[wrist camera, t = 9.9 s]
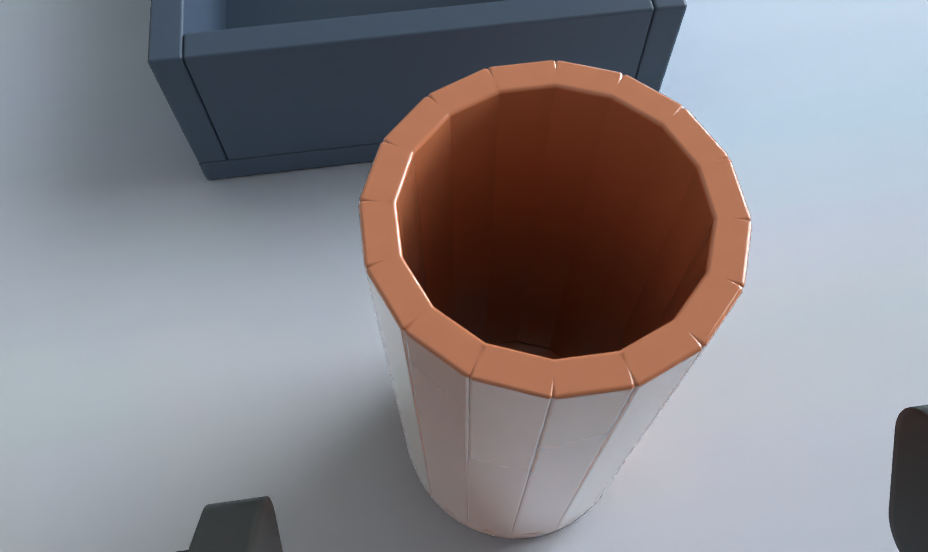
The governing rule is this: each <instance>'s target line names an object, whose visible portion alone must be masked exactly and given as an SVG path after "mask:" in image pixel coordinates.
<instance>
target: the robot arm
mask: <svg viewBox="0 0 928 552" xmlns="http://www.w3.org/2000/svg"><path fill="white" fill-rule="evenodd" d="M889 523H890V528H891V532H892V535H893V538H894V541H895V543H896V545H897V548H898V550H899V551H900V552H928V405H923V406H916V407H909V408H906V409H904V410H902V412H901V413H900V414H899V416H898V418H897V421H896V425H895V435H894V448H893V461H892V474H891V487H890V501H889ZM178 552H283V550H282V545H281V540H280V535H279V530H278V525H277V520H276V515H275V511H274V507H273V504H272V501H271V500H270V498H269V497H268V496H265V497H258V498H251V499H243V500H236V501H229V502H222V503H215V504H208V505H206V506H205V507H204V509H203V511H202V514H201V517H200V519H199V522H198V525H197V528H196V531H195V533H194V536H193V539H192V542H191V544H190V547H189V550H185V551H178Z"/></svg>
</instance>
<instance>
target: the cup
mask: <svg viewBox="0 0 928 552" xmlns="http://www.w3.org/2000/svg"><path fill="white" fill-rule="evenodd" d="M359 199H360V203H359V206H358V207H359V218H360V229H361V239H362V250H363V261H364V268H365V272H366V276H367V280H368V284H369V289H370V293H371V297H372V301H373V305H374V310H375V314H376V318H377V322H378V326H379V331H380V335H381V339H382V343H383V347H384V352H385V356H386V360H387V364H388V368H389V372H390V377H391V381H392V385H393V389H394V393H395V398H396V402H397V406H398V410H399V414H400V419H401V423H402V427H403V431H404V435H405V440H406V444H407V448H408V452H409V456H410V459H411V462H412V463H413V465H414V468H415V471H416V473H417V475H418V477H419V479H420V481H421V483H422V485H423V486H424V488H425V489H426V491H427V492H428V494H429V495H430V497H431V498H432V499H433V500H434V501H435V502H436V504H437V505H438V506H439V507H440V508H441V509H443V510H444V511H445V512H446V513H447V514H448V515H449V516H451V517H452V518H454V519H455V520H457V521H458V522H460V523H461V524H463V525H465V526H467V527H469V528H471V529H473V530H475V531H478V532H481V533H484V534H487V535H491V536H496V537H501V538H515V539H518V538H531V537H536V536H541V535H545V534H548V533H551V532H554V531H556V530H559V529H561V528H563V527H565V526H567V525H569V524H570V523H572V522H574V521H575V520H576V519H578V518H579V517H580V516H582V515H583V514H584V513H585V512H586V511H587V510H588V509H590V508H591V507H592V506H593V505H594V504H595V503H596V502H597V501H598V499H599V498H600V496H601V495H602V493H603V492H604V491H605V489H606V488H607V486H608V485H609V484H610V482H611V481H612V479H613V478H614V476H615V475H616V474H617V472H618V471H619V469H620V468H621V467H622V465H623V464H624V462H625V461H626V459H627V458H628V457H629V455H630V454H631V452H632V451H633V450H634V448H635V447H636V445H637V444H638V442H639V441H640V440H641V438H642V437H643V435H644V434H645V433H646V431H647V430H648V428H649V427H650V426H651V424H652V423H653V421H654V420H655V418H656V417H657V416H658V414H659V413H660V411H661V410H662V409H663V407H664V406H665V404H666V403H667V401H668V400H669V399H670V397H671V396H672V394H673V393H674V392H675V390H676V389H677V387H678V386H679V384H680V383H681V382H682V380H683V379H684V377H685V376H686V375H687V373H688V372H689V370H690V369H691V367H692V366H693V365H694V363H695V362H696V360H697V359H698V358H699V356H700V355H701V353H702V352H703V351H704V349H705V348H706V346H707V345H708V343H709V342H710V340H711V339H712V337H713V336H714V334H715V333H716V331H717V330H718V328H719V327H720V325H721V324H722V322H723V321H724V319H725V318H726V316H727V315H728V313H729V312H730V310H731V309H732V307H733V306H734V304H735V303H736V301H737V300H738V298H739V297H740V295H741V294H742V290H743V287H744V286H745V282H746V273H747V264H748V256H749V247H750V238H751V230H752V224H751V216H750V213H749V210H748V207H747V204H746V202H745V199H744V196H743V193H742V190H741V187H740V184H739V182H738V179H737V176H736V173H735V170H734V167H733V164H732V161H731V160H730V159H728V155H727V153H726V152H725V151H724V150H723V149H722V148H721V147H720V145H719V144H718V143H717V142H716V141H715V140H714V139H713V138H712V136H711V135H710V134H709V133H708V132H707V131H706V130H705V129H704V128H703V126H702V125H701V124H700V123H699V122H698V121H697V120H696V119H695V117H694V116H693V115H692V114H691V113H690V112H689V111H688V110H687V109H686V108H683V106H682V105H681V104H679V103H677V102H676V101H674V100H672V99H670V98H668V97H667V96H665V95H663V94H661V93H659V92H657V91H656V90H654V89H652V88H650V87H648V86H646V85H645V84H643V83H641V82H639V81H637V80H636V79H634V78H632V77H630V76H628V75H622V73H620V72H616V71H611V70H606V69H601V68H596V67H591V66H585V65H580V64H575V63H570V62H565V61H560V60H559V61H556V63H555V61H554V60H548V61H538V62H529V63H520V64H511V65H501V66H492V67H489V69H487V68H485V69H482V70H480V71H478V72H475V73H473V74H471V75H469V76H467V77H464V78H462V79H460V80H458V81H456V82H454V83H451V84H449V85H447V86H445V87H443V88H440V89H438V90H436V91H434V92H432V93H430V94H429V95H428V97H427V96H426V97H424V98H423V99H422V100H421V101H420V102H419V103H418V104H417V105H416V106H415V107H414V108H413V109H412V110H411V111H410V112H409V113H408V114H407V115H406V116H405V117H404V118H403V119H402V121H401V122H400V123H399V124H398V125H397V126H396V127H395V128H394V129H393V130H392V131H391V132H390V133H389V134H388V135H387V136H386V137H385V138H384V140H383V142H382V143H381V144H380V145H379V148H378V151H377V153H376V156H375V159H374V161H373V164H372V166H371V169H370V172H369V174H368V177H367V180H366V182H365V185H364V188H363V190H362V193H361V196H360V198H359Z"/></svg>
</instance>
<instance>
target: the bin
mask: <svg viewBox="0 0 928 552" xmlns="http://www.w3.org/2000/svg"><path fill="white" fill-rule="evenodd" d="M686 7H687V5H686V2H685V0H151V9H150V28H149V48H148V63H149V65H150V67H151V69H152V71H153V73H154V75H155V77H156V79H157V81H158V83H159V85H160V87H161V89H162V91H163V93H164V95H165V97H166V99H167V101H168V103H169V105H170V107H171V109H172V111H173V113H174V115H175V117H176V119H177V121H178V123H179V125H180V127H181V129H182V131H183V133H184V135H185V137H186V139H187V141H188V143H189V144H190V146H191V148H192V150H193V152H194V154H195V156H196V158H197V160H198V162H199V165H200V167H201V169H202V171H203V173H204V175H205V177H206V179H208V180H211V179H220V178H228V177H237V176H246V175H255V174H263V173H272V172H281V171H290V170H299V169H307V168H316V167H325V166H334V165H342V164H351V163H360V162H369V161H374V159H375V156H376V153H377V151H378V148H379V145H380V144H381V143H382V142H383V140H384V138H385V137H386V136H387V135H388V134H389V133H390V132H391V131H392V130H393V129H394V128H395V127H396V126H397V125H398V124H399V123H400V122H401V121H402V119H403V118H404V117H405V116H406V115H407V114H408V113H409V112H410V111H411V110H412V109H413V108H414V107H415V106H416V105H417V104H418V103H419V102H420V101H421V100H422V99H423V98H424V97H426V96H427V97H428V95H429V94H430V93H432V92H434V91H436V90H438V89H440V88H443V87H445V86H447V85H449V84H451V83H454V82H456V81H458V80H460V79H462V78H464V77H467V76H469V75H471V74H473V73H475V72H478V71H480V70H482V69H485V68H487V69H489V67H492V66H501V65H511V64H520V63H529V62H538V61H548V60H554V61H555V63H556V61H559V60H560V61H565V62H570V63H575V64H580V65H585V66H591V67H596V68H601V69H606V70H611V71H616V72H620V73H622V75H628V76H630V77H632V78H634V79H636V80H637V81H639V82H641V83H643V84H645V85H646V86H648V87H650V88H652V89H654V90H656V91H657V92H659V90H660V87H661V84H662V81H663V78H664V75H665V72H666V69H667V66H668V62H669V59H670V56H671V53H672V50H673V47H674V44H675V41H676V38H677V35H678V32H679V29H680V26H681V23H682V19H683V16H684V13H685V10H686Z"/></svg>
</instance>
